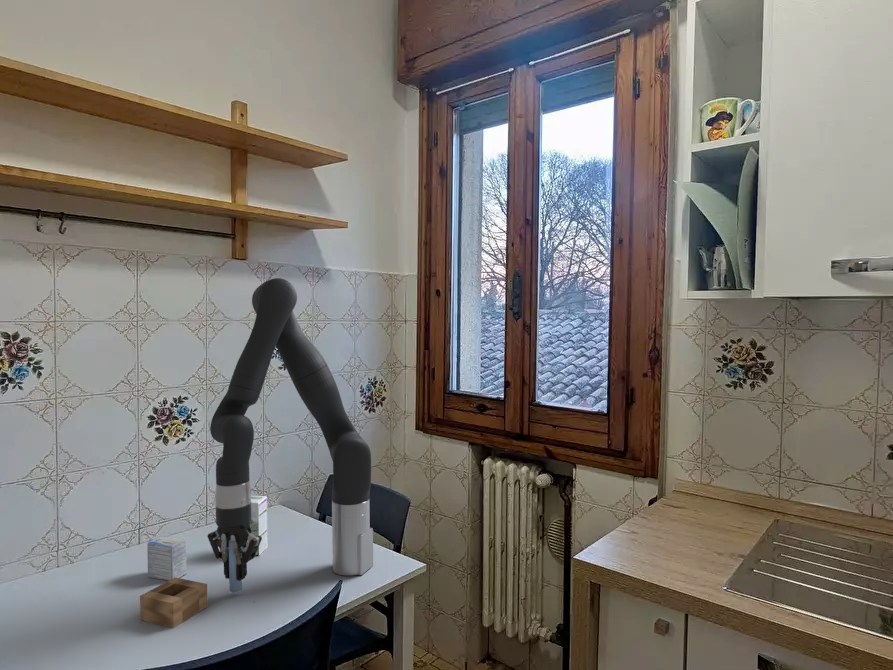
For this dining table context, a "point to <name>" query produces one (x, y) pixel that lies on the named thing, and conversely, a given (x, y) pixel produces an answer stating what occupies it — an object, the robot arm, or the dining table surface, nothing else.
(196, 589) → the hollow square block
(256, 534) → the syrup box
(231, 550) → the blue rounded rod
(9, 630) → the dining table surface
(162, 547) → the medicine box
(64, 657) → the dining table surface
